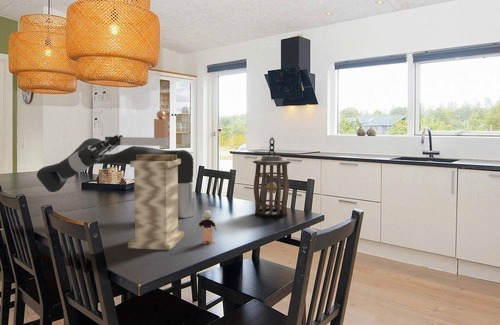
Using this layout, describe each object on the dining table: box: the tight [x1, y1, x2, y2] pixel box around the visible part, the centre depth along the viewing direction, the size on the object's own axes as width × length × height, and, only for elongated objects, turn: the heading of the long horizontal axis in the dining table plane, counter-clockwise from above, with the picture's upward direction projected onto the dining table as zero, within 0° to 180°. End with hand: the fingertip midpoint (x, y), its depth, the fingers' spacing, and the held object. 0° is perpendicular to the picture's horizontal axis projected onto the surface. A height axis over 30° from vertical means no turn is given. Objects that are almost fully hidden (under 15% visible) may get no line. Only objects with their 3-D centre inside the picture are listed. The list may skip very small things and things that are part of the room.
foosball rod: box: [104, 110, 170, 147], centre depth 143 cm, size 24×4×13 cm, turn 84°
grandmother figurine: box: [197, 210, 218, 245], centre depth 146 cm, size 8×4×13 cm, turn 92°
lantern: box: [252, 137, 292, 220], centre depth 194 cm, size 19×19×40 cm
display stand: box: [127, 154, 185, 251], centre depth 145 cm, size 16×18×34 cm
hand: (120, 137), depth 144 cm, fingers closed on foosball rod, 3 cm apart
